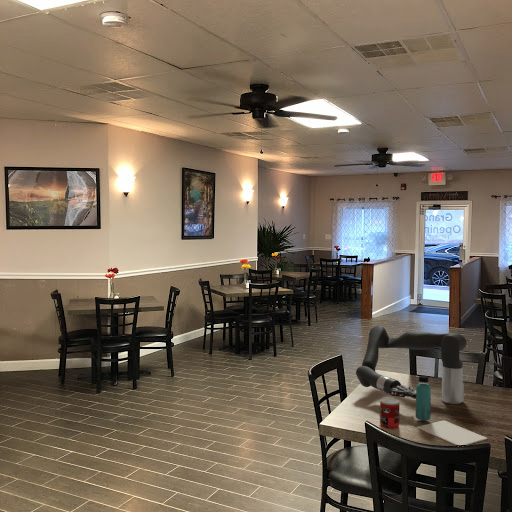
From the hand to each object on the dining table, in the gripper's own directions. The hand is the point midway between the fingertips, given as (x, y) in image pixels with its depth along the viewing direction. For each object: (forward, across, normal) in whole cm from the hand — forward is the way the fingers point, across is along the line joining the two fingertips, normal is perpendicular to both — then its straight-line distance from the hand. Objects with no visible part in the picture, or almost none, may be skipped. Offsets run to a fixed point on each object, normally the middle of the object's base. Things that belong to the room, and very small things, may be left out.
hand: (416, 396), depth 235 cm
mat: (+20, +1, -10) cm, 22 cm away
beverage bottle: (+4, 0, -10) cm, 11 cm away
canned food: (+1, +17, -10) cm, 20 cm away
